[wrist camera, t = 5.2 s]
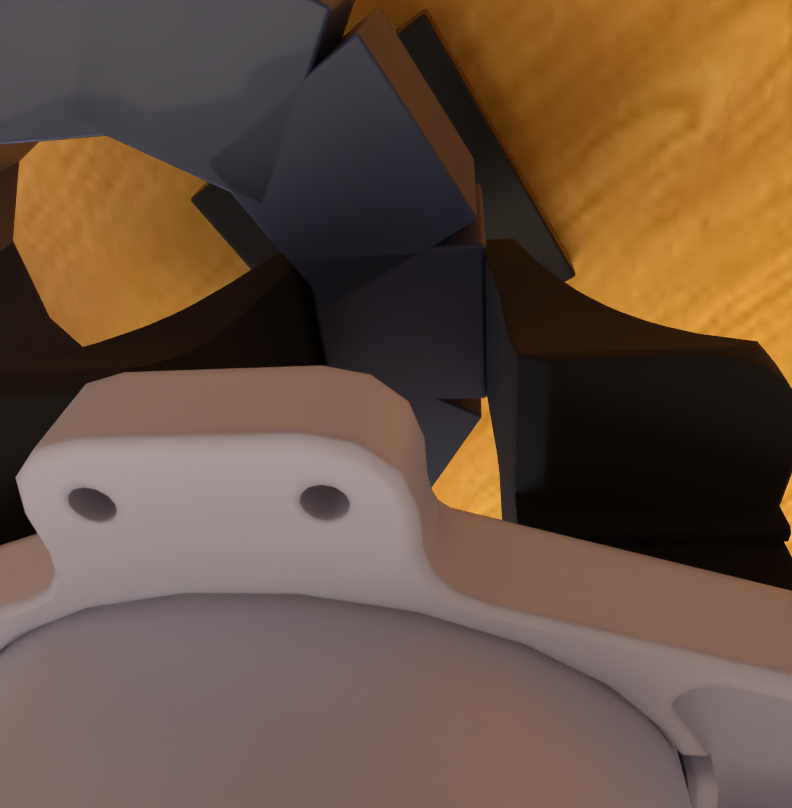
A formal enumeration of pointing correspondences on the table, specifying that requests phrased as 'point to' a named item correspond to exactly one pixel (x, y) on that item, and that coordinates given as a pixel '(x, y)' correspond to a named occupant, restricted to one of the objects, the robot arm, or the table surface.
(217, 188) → the peg stand
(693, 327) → the table surface
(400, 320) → the hoop
